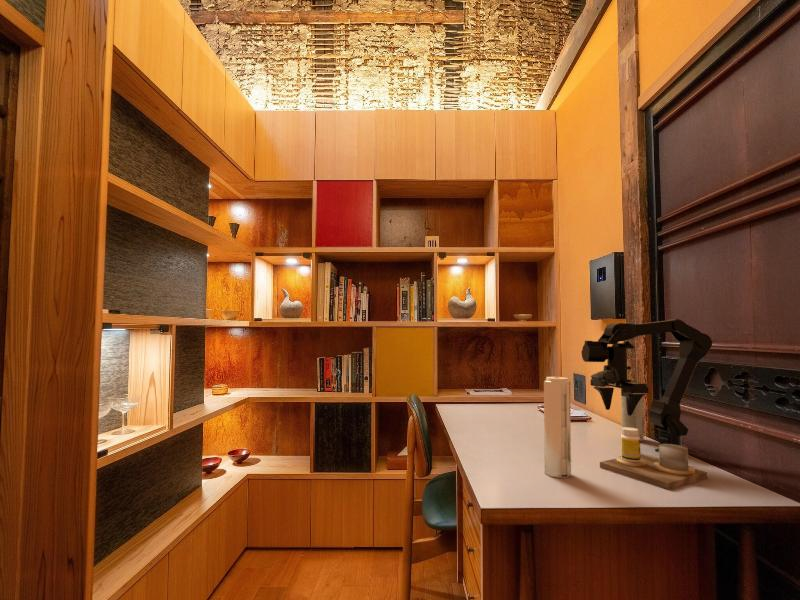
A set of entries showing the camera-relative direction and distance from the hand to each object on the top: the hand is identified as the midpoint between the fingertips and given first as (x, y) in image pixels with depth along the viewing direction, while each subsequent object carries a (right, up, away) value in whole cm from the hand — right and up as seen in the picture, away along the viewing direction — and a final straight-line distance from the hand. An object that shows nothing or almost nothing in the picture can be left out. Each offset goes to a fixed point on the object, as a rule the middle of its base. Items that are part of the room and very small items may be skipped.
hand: (618, 412), depth 133 cm
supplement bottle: (-6, -9, -17) cm, 20 cm away
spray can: (+13, -14, +15) cm, 24 cm away
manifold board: (-2, -11, -21) cm, 23 cm away
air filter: (-28, -10, -23) cm, 38 cm away
